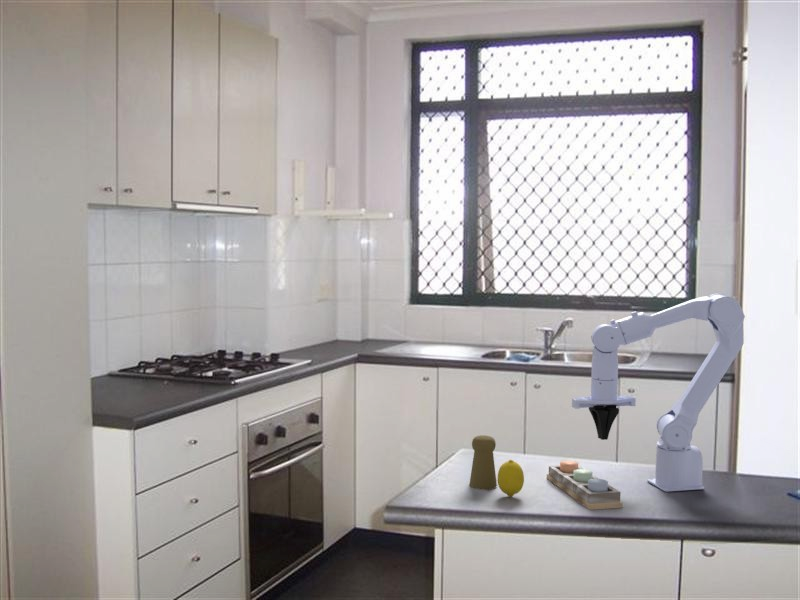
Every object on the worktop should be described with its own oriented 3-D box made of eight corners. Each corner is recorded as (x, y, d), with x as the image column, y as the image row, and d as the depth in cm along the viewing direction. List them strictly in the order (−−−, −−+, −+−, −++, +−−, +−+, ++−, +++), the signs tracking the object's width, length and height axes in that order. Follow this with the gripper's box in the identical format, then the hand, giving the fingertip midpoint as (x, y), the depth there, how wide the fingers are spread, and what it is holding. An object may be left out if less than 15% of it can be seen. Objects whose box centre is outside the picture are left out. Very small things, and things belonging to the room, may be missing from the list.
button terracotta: (573, 473, 189) (573, 460, 189) (581, 478, 185) (581, 465, 185) (556, 474, 188) (557, 461, 188) (564, 479, 184) (564, 466, 184)
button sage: (587, 482, 182) (587, 468, 182) (595, 487, 179) (595, 473, 178) (570, 483, 182) (570, 469, 181) (578, 488, 178) (578, 475, 177)
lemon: (522, 502, 173) (523, 464, 173) (496, 500, 174) (496, 462, 174) (524, 493, 179) (525, 457, 178) (498, 492, 180) (498, 455, 179)
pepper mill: (465, 487, 183) (466, 438, 182) (474, 479, 188) (474, 432, 188) (492, 490, 181) (493, 440, 180) (499, 483, 186) (500, 434, 185)
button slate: (601, 491, 176) (602, 477, 175) (610, 497, 172) (611, 483, 172) (584, 493, 175) (584, 479, 175) (592, 499, 171) (593, 484, 171)
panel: (546, 478, 190) (546, 465, 190) (575, 476, 192) (576, 463, 191) (589, 509, 169) (590, 495, 168) (622, 507, 170) (622, 493, 170)
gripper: (625, 374, 191) (623, 432, 192) (566, 376, 188) (565, 435, 189) (641, 379, 184) (639, 440, 186) (580, 382, 181) (578, 443, 182)
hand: (602, 438), depth 187 cm, fingers closed
